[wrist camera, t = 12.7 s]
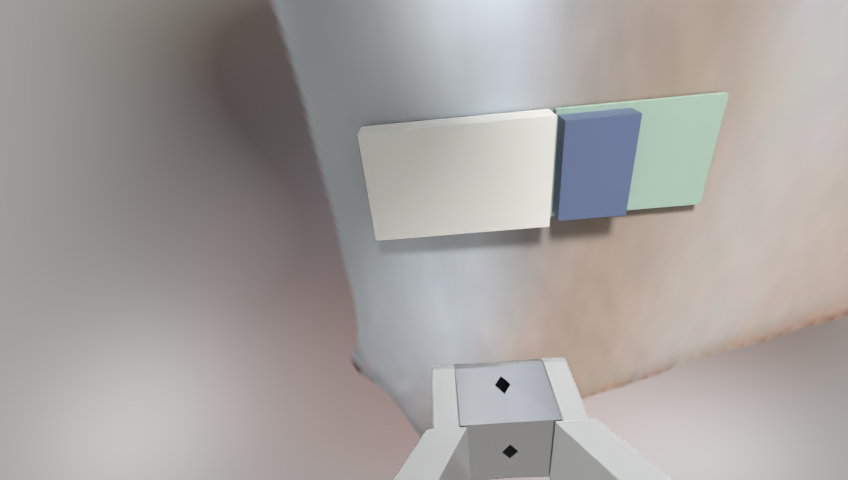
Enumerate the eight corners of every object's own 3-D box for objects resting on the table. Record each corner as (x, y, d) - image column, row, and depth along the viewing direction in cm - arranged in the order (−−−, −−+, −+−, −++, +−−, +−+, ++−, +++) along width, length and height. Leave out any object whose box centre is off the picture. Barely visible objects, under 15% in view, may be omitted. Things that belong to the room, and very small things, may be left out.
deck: (361, 126, 36) (357, 134, 34) (548, 108, 35) (556, 115, 33) (378, 228, 41) (375, 241, 38) (542, 214, 40) (549, 226, 38)
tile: (558, 114, 35) (565, 120, 33) (631, 107, 34) (642, 113, 33) (552, 211, 39) (558, 221, 37) (616, 205, 39) (625, 215, 37)
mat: (554, 107, 35) (556, 109, 34) (724, 91, 34) (729, 93, 34) (547, 214, 40) (549, 216, 39) (696, 201, 39) (700, 204, 39)
